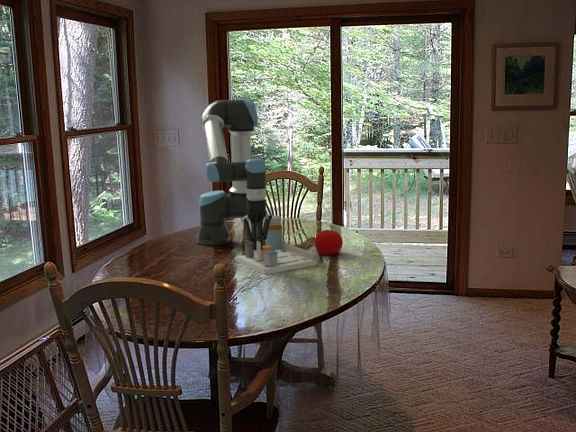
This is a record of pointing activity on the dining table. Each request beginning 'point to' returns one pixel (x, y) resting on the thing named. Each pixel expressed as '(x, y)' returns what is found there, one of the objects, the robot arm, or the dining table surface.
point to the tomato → (328, 242)
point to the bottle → (275, 233)
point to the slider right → (270, 257)
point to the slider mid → (265, 248)
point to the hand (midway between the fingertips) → (257, 258)
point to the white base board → (281, 260)
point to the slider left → (249, 250)
